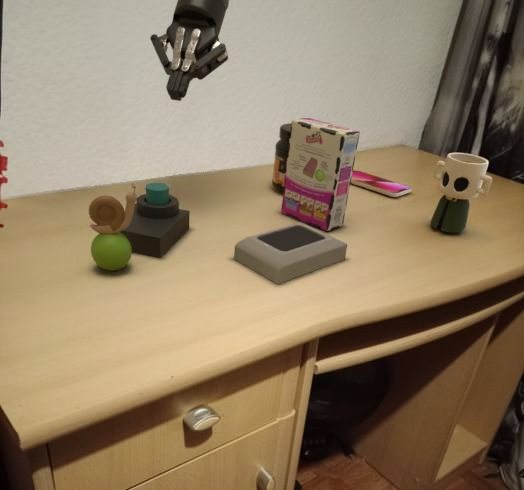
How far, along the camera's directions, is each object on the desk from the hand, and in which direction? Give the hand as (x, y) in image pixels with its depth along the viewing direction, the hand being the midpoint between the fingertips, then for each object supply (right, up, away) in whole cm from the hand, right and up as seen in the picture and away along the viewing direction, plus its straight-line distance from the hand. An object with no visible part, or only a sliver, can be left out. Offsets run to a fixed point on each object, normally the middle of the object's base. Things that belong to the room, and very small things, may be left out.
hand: (174, 96), depth 83 cm
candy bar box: (+22, -15, +15) cm, 31 cm away
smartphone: (+38, -3, +35) cm, 52 cm away
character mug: (+48, -17, +18) cm, 54 cm away
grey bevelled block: (+18, -25, +1) cm, 31 cm away
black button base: (-4, -21, +2) cm, 22 cm away
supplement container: (+21, -6, +28) cm, 35 cm away
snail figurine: (-7, -28, -7) cm, 29 cm away
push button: (-3, -15, +3) cm, 16 cm away
